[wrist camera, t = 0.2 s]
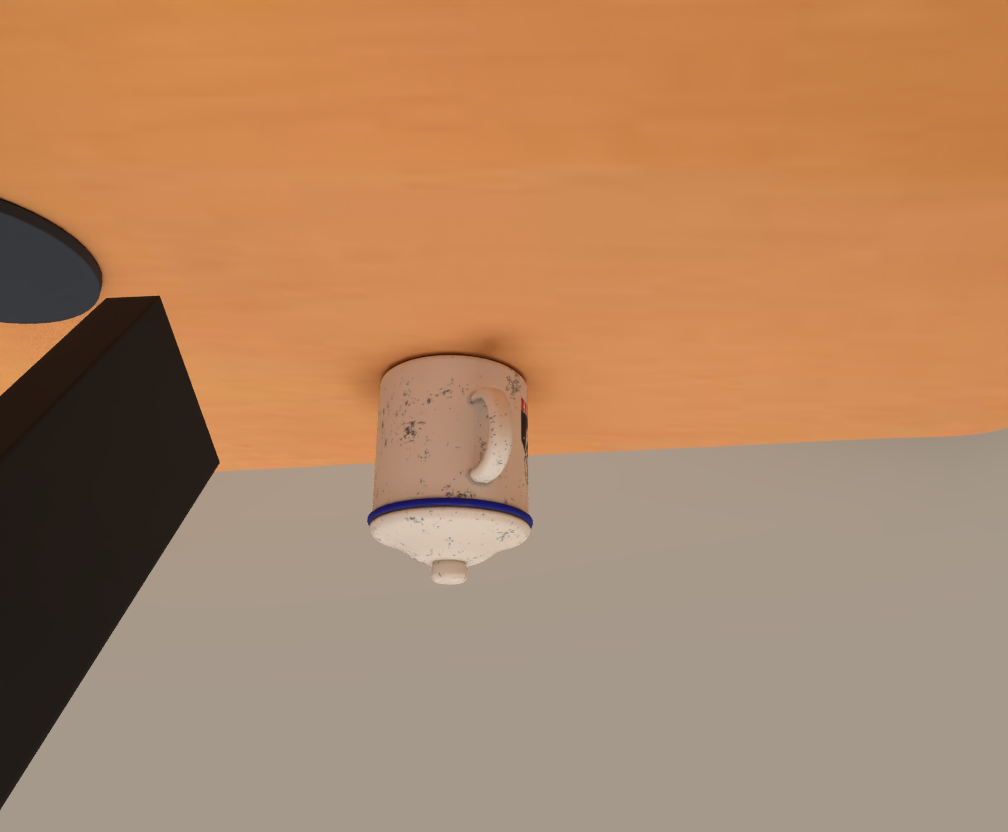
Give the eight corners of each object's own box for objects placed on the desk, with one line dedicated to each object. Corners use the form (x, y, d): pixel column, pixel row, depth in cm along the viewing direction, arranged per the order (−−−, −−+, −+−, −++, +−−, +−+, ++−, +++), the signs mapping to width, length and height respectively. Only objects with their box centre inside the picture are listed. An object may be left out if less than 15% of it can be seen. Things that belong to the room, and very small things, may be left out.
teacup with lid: (494, 420, 57) (493, 600, 53) (358, 398, 53) (345, 589, 49) (582, 346, 47) (590, 562, 42) (420, 313, 43) (411, 545, 39)
